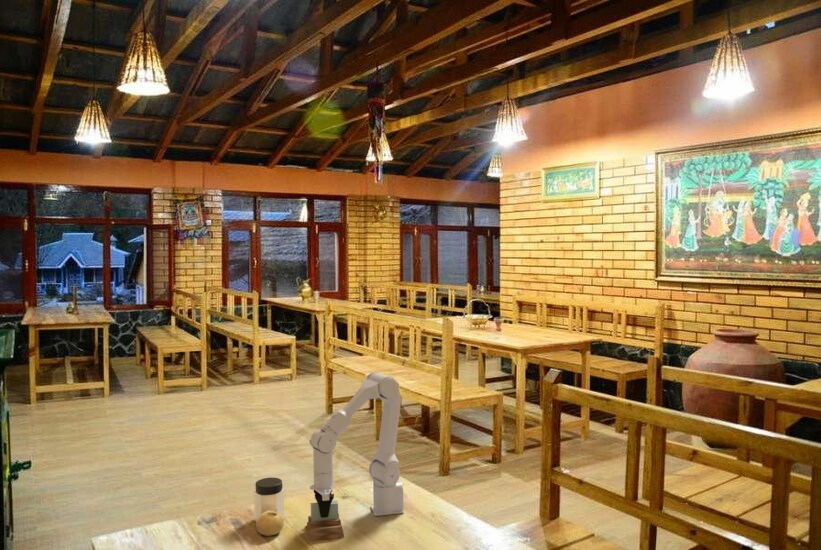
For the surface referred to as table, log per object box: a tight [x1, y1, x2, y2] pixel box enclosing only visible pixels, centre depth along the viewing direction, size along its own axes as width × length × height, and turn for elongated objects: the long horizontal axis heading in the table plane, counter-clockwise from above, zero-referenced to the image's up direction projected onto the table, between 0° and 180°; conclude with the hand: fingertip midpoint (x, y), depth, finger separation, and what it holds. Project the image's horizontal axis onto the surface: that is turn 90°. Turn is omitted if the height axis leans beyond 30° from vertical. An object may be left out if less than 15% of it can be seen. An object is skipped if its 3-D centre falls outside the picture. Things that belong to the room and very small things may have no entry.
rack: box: [306, 512, 345, 542], centre depth 193 cm, size 10×10×3 cm
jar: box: [253, 477, 285, 522], centre depth 201 cm, size 9×8×12 cm
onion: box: [255, 510, 285, 537], centre depth 192 cm, size 8×8×7 cm
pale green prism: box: [310, 500, 339, 522], centre depth 195 cm, size 8×2×6 cm, turn 103°
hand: (324, 514), depth 195 cm, fingers closed on pale green prism, 2 cm apart
